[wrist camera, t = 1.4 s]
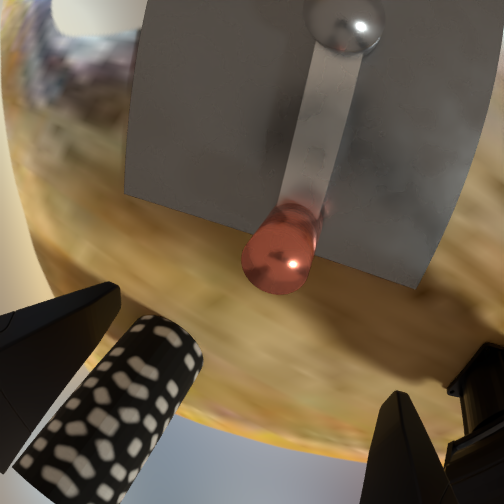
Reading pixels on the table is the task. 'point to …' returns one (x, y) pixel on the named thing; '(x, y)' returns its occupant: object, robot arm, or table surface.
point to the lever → (313, 142)
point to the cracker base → (287, 111)
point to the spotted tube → (114, 416)
